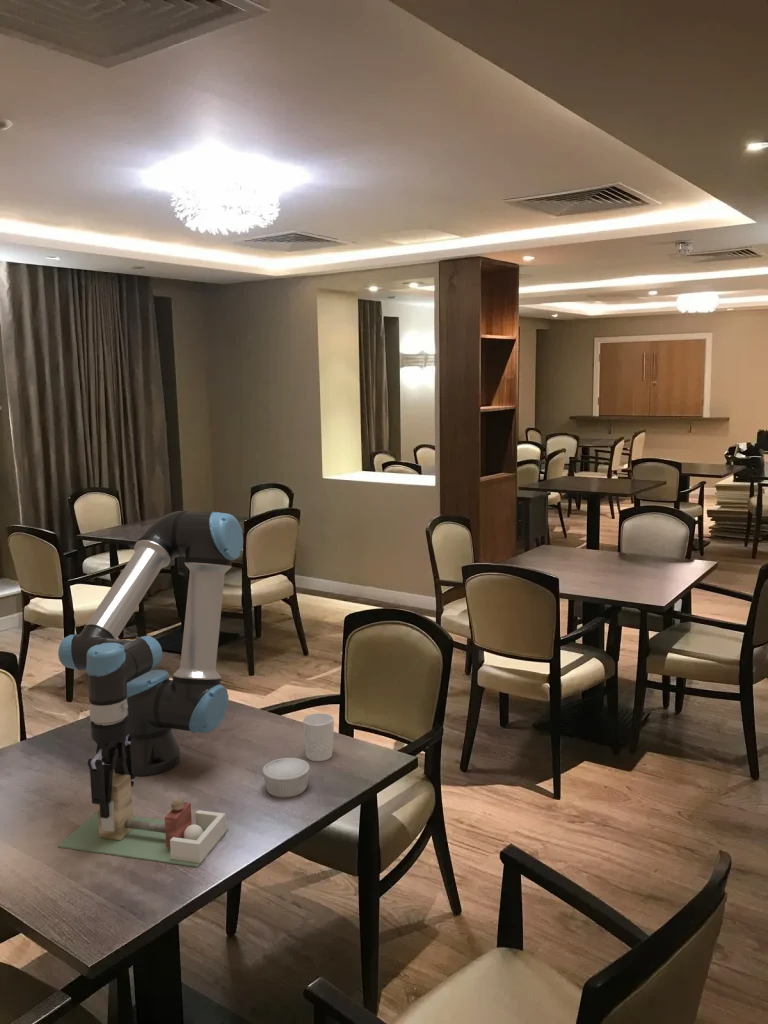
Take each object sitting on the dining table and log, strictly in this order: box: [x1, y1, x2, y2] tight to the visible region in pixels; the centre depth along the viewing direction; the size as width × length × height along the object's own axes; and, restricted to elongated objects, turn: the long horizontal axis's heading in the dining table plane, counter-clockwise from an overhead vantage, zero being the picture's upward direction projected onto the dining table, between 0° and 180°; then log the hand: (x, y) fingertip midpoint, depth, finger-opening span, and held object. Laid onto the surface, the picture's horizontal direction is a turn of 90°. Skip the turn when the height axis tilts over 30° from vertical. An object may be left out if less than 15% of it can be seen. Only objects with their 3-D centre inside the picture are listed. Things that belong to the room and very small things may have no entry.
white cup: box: [302, 712, 335, 762], centre depth 204 cm, size 8×8×10 cm
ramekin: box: [261, 757, 311, 799], centre depth 188 cm, size 11×11×5 cm
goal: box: [170, 809, 227, 864], centre depth 164 cm, size 6×12×4 cm, turn 166°
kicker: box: [96, 772, 193, 848], centre depth 167 cm, size 18×6×12 cm, turn 76°
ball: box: [183, 823, 203, 840], centre depth 165 cm, size 4×4×4 cm
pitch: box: [57, 811, 229, 868], centre depth 168 cm, size 32×14×1 cm, turn 76°
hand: (116, 822), depth 169 cm, fingers closed on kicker, 5 cm apart
